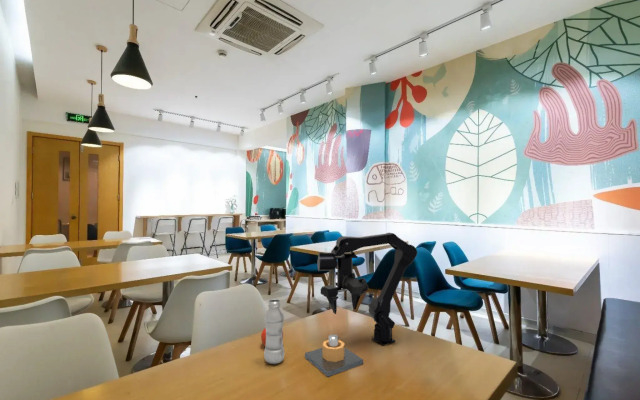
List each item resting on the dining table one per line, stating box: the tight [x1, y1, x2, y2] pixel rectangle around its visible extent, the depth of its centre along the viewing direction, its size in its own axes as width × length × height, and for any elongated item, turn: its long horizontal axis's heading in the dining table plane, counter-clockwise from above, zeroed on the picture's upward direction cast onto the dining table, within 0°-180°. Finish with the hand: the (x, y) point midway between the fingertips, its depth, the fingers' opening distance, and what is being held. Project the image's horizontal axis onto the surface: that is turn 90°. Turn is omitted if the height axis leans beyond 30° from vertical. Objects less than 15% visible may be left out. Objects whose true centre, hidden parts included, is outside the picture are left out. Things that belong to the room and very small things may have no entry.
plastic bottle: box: [263, 298, 285, 365], centre depth 98 cm, size 6×7×20 cm
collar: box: [321, 339, 346, 362], centre depth 99 cm, size 7×7×4 cm
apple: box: [260, 328, 284, 346], centre depth 110 cm, size 8×8×8 cm
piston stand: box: [304, 334, 364, 378], centre depth 99 cm, size 14×14×8 cm
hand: (344, 311), depth 112 cm, fingers open, 9 cm apart
